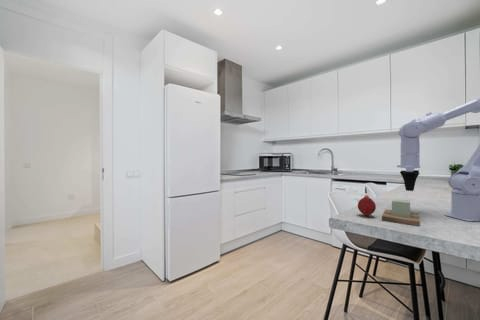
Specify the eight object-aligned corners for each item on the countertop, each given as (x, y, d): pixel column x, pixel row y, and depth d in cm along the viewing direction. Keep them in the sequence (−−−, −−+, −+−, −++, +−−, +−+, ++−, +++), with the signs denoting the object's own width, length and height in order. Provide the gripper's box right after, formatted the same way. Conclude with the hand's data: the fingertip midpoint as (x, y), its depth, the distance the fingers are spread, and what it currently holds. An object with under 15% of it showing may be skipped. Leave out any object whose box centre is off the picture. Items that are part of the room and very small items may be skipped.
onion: (378, 218, 77) (378, 196, 76) (360, 218, 78) (360, 196, 78) (372, 214, 82) (372, 193, 82) (355, 213, 83) (355, 193, 83)
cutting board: (385, 213, 84) (385, 209, 84) (418, 217, 78) (418, 213, 78) (381, 220, 74) (381, 216, 74) (419, 226, 68) (419, 221, 68)
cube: (392, 212, 79) (392, 198, 79) (410, 214, 76) (410, 200, 76) (391, 215, 76) (391, 201, 76) (409, 217, 72) (410, 202, 72)
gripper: (397, 154, 91) (397, 186, 91) (395, 154, 79) (395, 190, 80) (419, 154, 86) (419, 187, 86) (420, 153, 75) (420, 192, 75)
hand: (409, 189), depth 83 cm, fingers open, 7 cm apart
